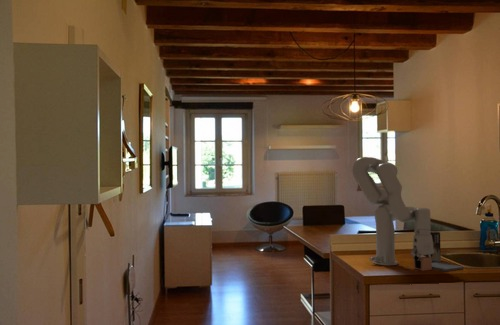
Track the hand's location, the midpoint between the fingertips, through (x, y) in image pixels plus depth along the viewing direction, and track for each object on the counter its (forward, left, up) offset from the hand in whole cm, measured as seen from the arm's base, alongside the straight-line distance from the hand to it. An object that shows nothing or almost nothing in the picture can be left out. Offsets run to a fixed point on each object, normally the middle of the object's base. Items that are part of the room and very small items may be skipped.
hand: (422, 267), depth 223 cm
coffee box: (+21, +13, -1) cm, 25 cm away
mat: (+12, -2, -1) cm, 12 cm away
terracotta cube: (0, 0, -1) cm, 1 cm away
